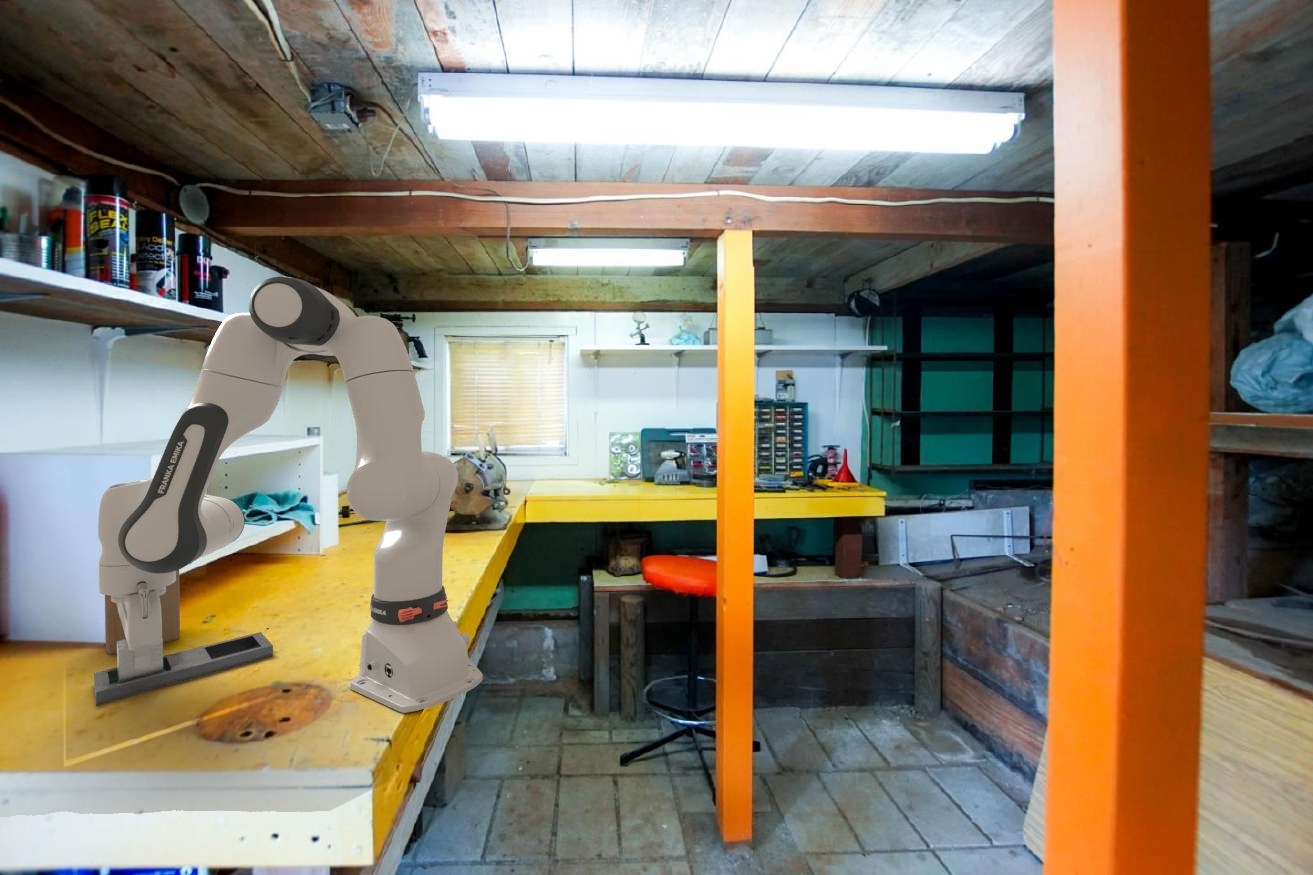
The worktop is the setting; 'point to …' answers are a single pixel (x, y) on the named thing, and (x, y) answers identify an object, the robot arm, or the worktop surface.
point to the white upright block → (126, 663)
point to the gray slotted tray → (185, 666)
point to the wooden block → (168, 615)
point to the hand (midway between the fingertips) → (140, 658)
